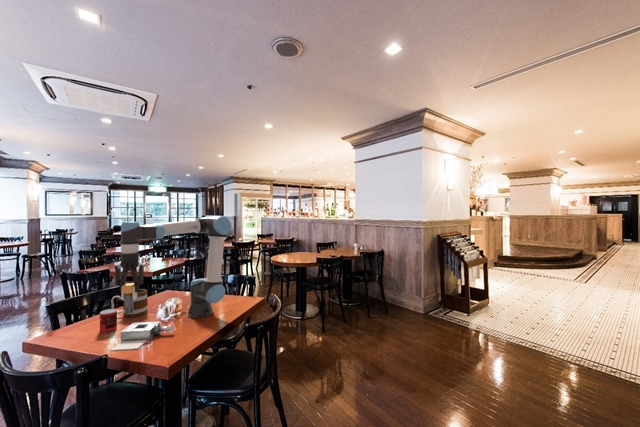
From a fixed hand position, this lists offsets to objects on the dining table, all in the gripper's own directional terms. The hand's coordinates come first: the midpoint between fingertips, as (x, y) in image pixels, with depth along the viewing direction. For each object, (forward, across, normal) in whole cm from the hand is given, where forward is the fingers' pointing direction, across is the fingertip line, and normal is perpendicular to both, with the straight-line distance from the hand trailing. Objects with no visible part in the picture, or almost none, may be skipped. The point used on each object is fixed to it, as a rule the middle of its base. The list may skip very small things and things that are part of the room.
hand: (129, 298), depth 139 cm
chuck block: (+23, -5, -11) cm, 26 cm away
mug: (+23, +23, -45) cm, 56 cm away
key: (+7, 0, 0) cm, 7 cm away
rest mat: (+23, -1, 0) cm, 23 cm away
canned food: (+23, +22, -21) cm, 38 cm away
